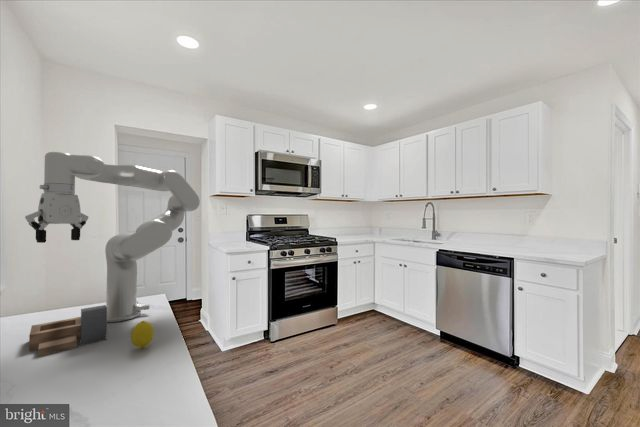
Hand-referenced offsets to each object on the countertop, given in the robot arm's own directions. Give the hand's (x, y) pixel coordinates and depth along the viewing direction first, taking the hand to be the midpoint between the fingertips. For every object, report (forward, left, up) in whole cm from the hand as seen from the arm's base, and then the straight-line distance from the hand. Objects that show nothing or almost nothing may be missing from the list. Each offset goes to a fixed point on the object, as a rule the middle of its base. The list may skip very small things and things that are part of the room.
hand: (59, 241), depth 93 cm
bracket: (-12, +13, -30) cm, 35 cm away
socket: (-2, +7, -30) cm, 31 cm away
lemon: (-26, +26, -30) cm, 48 cm away
